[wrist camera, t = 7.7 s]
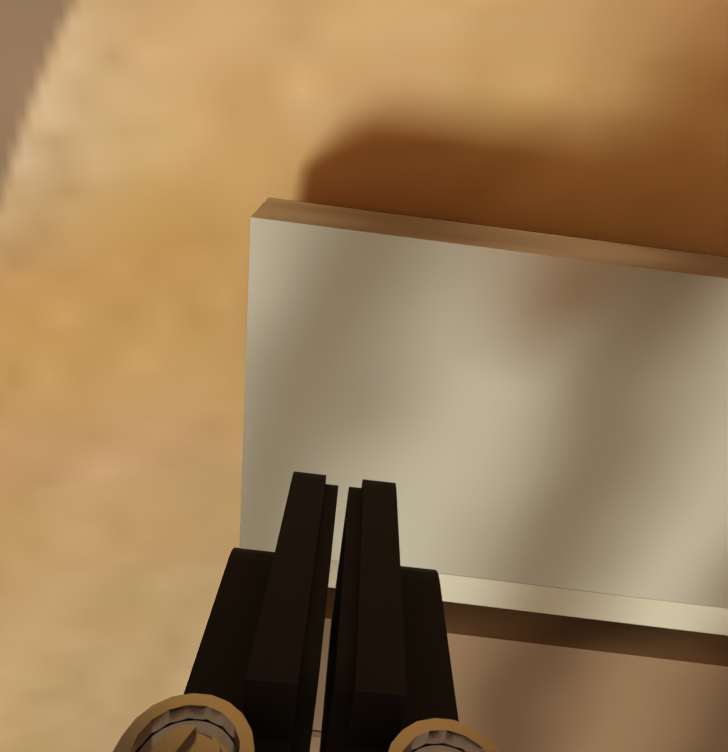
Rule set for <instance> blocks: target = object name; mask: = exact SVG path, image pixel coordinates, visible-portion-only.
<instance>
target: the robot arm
mask: <svg viewBox="0 0 728 752" xmlns="http://www.w3.org/2000/svg"><path fill="white" fill-rule="evenodd" d="M337 495H338V485H331V484H326V475H322V474H313V473H304V472H295V471H294V472H293V476H292V480H291V484H290V489H289V493H288V497H287V502H286V506H285V510H284V515H283V519H282V523H281V528H280V532H279V536H278V541H277V545H276V549H275V552H270V551H260V550H251V549H242V548H233V550H232V551H231V554H230V556H229V559H228V562H227V565H226V568H225V571H224V574H223V577H222V580H221V583H220V586H219V589H218V592H217V595H216V598H215V602H214V605H213V608H212V611H211V614H210V617H209V620H208V623H207V626H206V629H205V632H204V635H203V638H202V641H201V644H200V647H199V650H198V653H197V656H196V659H195V662H194V665H193V668H192V671H191V674H190V677H189V680H188V683H187V686H186V689H185V692H184V695H179V696H173V697H170V698H168V699H166V700H163V701H161V702H159V703H157V704H154V705H152V706H151V707H150V708H149V709H147V710H146V711H145V712H143V713H142V714H141V715H139V716H138V717H137V718H136V719H135V720H134V721H133V722H132V724H131V725H130V726H129V727H128V729H127V730H126V731H125V733H124V734H123V735H122V737H121V738H120V740H119V742H118V743H117V745H116V747H115V749H114V750H113V752H310V745H311V737H312V729H313V721H314V714H315V706H316V698H317V689H318V681H319V672H320V662H321V652H322V643H323V633H324V623H325V613H326V603H327V594H328V584H329V574H330V564H331V554H332V544H333V535H334V525H335V515H336V505H337ZM319 752H500V751H499V749H498V748H497V747H496V746H495V745H494V744H493V742H492V741H491V740H490V739H488V738H487V737H486V736H484V735H483V734H481V733H480V732H479V731H477V730H476V729H474V728H473V727H471V726H468V725H466V724H463V723H461V722H459V719H458V712H457V705H456V697H455V690H454V682H453V675H452V668H451V660H450V653H449V645H448V638H447V630H446V623H445V616H444V608H443V601H442V593H441V586H440V579H439V574H438V572H437V570H433V569H424V568H415V567H406V566H401V565H400V547H399V528H398V509H397V490H396V483H392V482H383V481H374V480H365V479H363V481H362V486H361V488H357V487H349V490H348V497H347V504H346V512H345V519H344V527H343V534H342V542H341V550H340V557H339V565H338V572H337V580H336V587H335V595H334V603H333V610H332V618H331V627H330V637H329V649H328V660H327V671H326V682H325V693H324V705H323V716H322V727H321V738H320V749H319Z"/></svg>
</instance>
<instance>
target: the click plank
mask: <svg viewBox="0 0 728 752" xmlns="http://www.w3.org/2000/svg"><path fill="white" fill-rule="evenodd" d="M294 471H295V472H304V473H313V474H322V475H326V484H331V485H338V495H337V505H336V515H335V525H334V535H333V544H332V554H331V564H330V574H329V584H328V587H331V588H335V587H336V580H337V572H338V565H339V557H340V550H341V542H342V534H343V527H344V519H345V512H346V504H347V497H348V490H349V487H357V488H361V486H362V481H363V479H365V480H374V481H383V482H392V483H396V490H397V509H398V528H399V547H400V565H401V566H406V567H415V568H424V569H433V570H437V572H438V574H439V579H440V586H441V593H442V601H447V602H455V603H463V604H471V605H480V606H488V607H496V608H504V609H513V610H521V611H529V612H537V613H546V614H554V615H562V616H570V617H579V618H587V619H595V620H603V621H612V622H620V623H628V624H636V625H645V626H653V627H661V628H670V629H678V630H686V631H694V632H703V633H711V634H719V635H727V636H728V257H723V256H715V255H707V254H699V253H692V252H684V251H676V250H669V249H661V248H653V247H645V246H638V245H630V244H622V243H615V242H607V241H599V240H592V239H584V238H576V237H568V236H561V235H553V234H545V233H538V232H530V231H522V230H514V229H507V228H499V227H491V226H484V225H476V224H468V223H460V222H453V221H445V220H437V219H430V218H422V217H414V216H406V215H399V214H391V213H383V212H376V211H368V210H360V209H353V208H345V207H337V206H329V205H322V204H314V203H306V202H299V201H291V200H283V199H275V198H268V199H267V200H266V201H265V202H264V203H263V204H262V205H261V207H260V208H259V209H258V210H257V211H256V212H255V213H254V214H253V215H252V216H251V225H250V255H249V285H248V315H247V345H246V375H245V405H244V435H243V464H242V494H241V524H240V548H242V549H251V550H260V551H270V552H275V549H276V545H277V541H278V536H279V532H280V528H281V523H282V519H283V515H284V510H285V506H286V502H287V497H288V493H289V489H290V484H291V480H292V476H293V472H294Z"/></svg>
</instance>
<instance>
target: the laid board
mask: <svg viewBox="0 0 728 752" xmlns="http://www.w3.org/2000/svg"><path fill="white" fill-rule="evenodd" d="M334 595H335V588H331V587H328V594H327V603H326V613H325V623H324V633H323V643H322V652H321V662H320V672H319V681H318V689H317V698H316V706H315V714H314V721H313V729H312V737H311V745H310V752H319V749H320V738H321V727H322V716H323V705H324V693H325V682H326V671H327V660H328V649H329V637H330V627H331V618H332V610H333V603H334ZM443 608H444V616H445V623H446V630H447V638H448V645H449V653H450V660H451V668H452V675H453V682H454V690H455V697H456V705H457V712H458V719H459V722H461V723H463V724H466V725H468V726H471V727H473V728H474V729H476V730H477V731H479V732H480V733H481V734H483V735H484V736H486V737H487V738H488V739H490V740H491V741H492V742H493V744H494V745H495V746H496V747H497V748H498V749H499V751H500V752H728V636H727V635H719V634H711V633H703V632H694V631H686V630H678V629H670V628H661V627H653V626H645V625H636V624H628V623H620V622H612V621H603V620H595V619H587V618H579V617H570V616H562V615H554V614H546V613H537V612H529V611H521V610H513V609H504V608H496V607H488V606H480V605H471V604H463V603H455V602H447V601H443Z"/></svg>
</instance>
